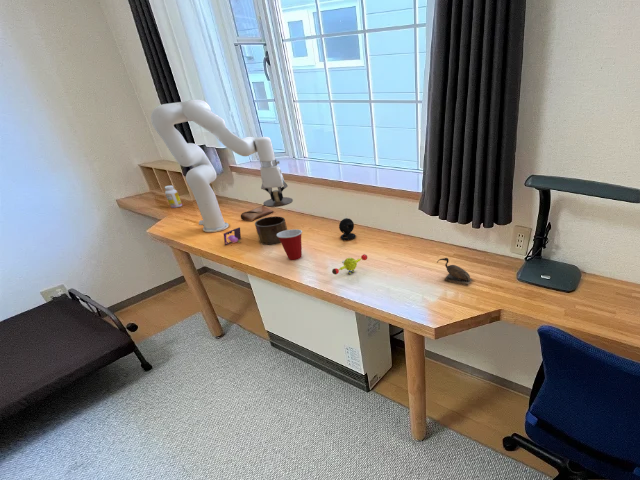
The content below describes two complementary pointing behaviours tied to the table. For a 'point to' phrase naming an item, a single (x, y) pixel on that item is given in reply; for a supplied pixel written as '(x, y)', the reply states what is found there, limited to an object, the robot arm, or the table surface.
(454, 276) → the figurine
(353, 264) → the toy figure
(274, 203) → the basket lid
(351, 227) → the webcam
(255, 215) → the sunglasses case
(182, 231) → the table surface
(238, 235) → the purple toy package
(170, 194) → the supplement bottle
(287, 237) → the plastic cup
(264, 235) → the basket
